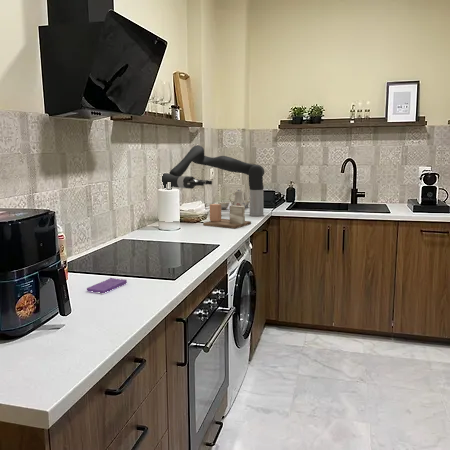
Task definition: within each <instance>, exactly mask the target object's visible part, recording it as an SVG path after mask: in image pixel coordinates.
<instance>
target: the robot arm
mask: <svg viewBox="0 0 450 450" xmlns="http://www.w3.org/2000/svg"><path fill="white" fill-rule="evenodd" d="M191 163H194V164H196V165H201V166H208V167H212V168H216V169H220V170H223V171H226V172H231V173H238V174H244V175H248V187H249V201H250V203H249V216H251V217H262V216H264V189H265V188H264V182H263V181H264V178H263V177H264V175H265V169H264V166H262V165H260V164H255V163H247V162H244V161H242V160H240V159H237V158H235V157H234V158H233V157H231V156H227V155H219V156H216V157H215V156H214V157H212V156H206V155H205V149H204V147H203V145H202V146H201V145H199V144H198V145H194V146H193V147H192V148H191V149H190V150H189V151H188V152H187V153H186V155H185V156H184V157H183V158H182V159H181V161H179V163H177V164H175V166H174V167H173V168H171V169H170V170H169V173H167V172H165V173H162V174H163V176H162V182H163V185H164V188H166V184H167V182H171V187H172V188H179V189H190V190H192V189H195V187H200V186H202V187H203V186H204V185H212V184H213V181H212V180H209V179H196V177H194V176H190V175H189V176H187V175H184V174H185V172H186V171H187V169H188V168H189V166H190V165H191ZM182 175H183V176H182ZM164 188H163V189H164Z"/></svg>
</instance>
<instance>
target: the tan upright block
mask: <svg viewBox="0 0 450 450" xmlns="http://www.w3.org/2000/svg"><path fill="white" fill-rule="evenodd" d="M221 219H222V209H221V204H218V203H212V204H211V203H210V204H209V221H221Z"/></svg>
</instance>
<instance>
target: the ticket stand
mask: <svg viewBox="0 0 450 450" xmlns="http://www.w3.org/2000/svg"><path fill="white" fill-rule="evenodd" d="M231 205H232V204H231ZM231 205H229V218H221V221H210V220H209V221H205V222H203V226H205V227H206V226H207V227H213V228H214V227H215V228H222V229H223V228H225V229H232V230H235V229H238V228H241V227H243V228H244V227H245V226H249V225H251V224H252V221H249V220H245V217H246V215H245V213H246V212H245V210H246V208H245V206H234V205H232V206H231Z"/></svg>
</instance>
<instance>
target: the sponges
mask: <svg viewBox="0 0 450 450" xmlns="http://www.w3.org/2000/svg"><path fill="white" fill-rule="evenodd" d="M126 283H127V284H128V281H127V279H123V278H121V279H120V278H112V277H110V278H108V279H106V280H103V281H101V282H99V283H96V284H93V285H91V286H88V287H86V291H87V292H88V291H93V292H100V293H105V292H107V291H109V292H111V291H110V290H112V289H114V288H116V289H117V287H118V288H120V287H123V286H125V285H127V284H126ZM124 284H125V285H124ZM122 285H123V286H122ZM119 286H120V287H119ZM114 290H115V289H114ZM112 291H113V290H112ZM93 292H92V293H93ZM100 293H99V294H100ZM107 293H108V292H107ZM105 294H106V293H105Z"/></svg>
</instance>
